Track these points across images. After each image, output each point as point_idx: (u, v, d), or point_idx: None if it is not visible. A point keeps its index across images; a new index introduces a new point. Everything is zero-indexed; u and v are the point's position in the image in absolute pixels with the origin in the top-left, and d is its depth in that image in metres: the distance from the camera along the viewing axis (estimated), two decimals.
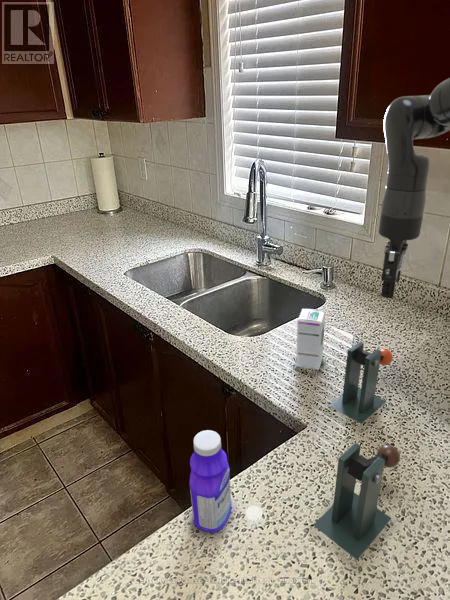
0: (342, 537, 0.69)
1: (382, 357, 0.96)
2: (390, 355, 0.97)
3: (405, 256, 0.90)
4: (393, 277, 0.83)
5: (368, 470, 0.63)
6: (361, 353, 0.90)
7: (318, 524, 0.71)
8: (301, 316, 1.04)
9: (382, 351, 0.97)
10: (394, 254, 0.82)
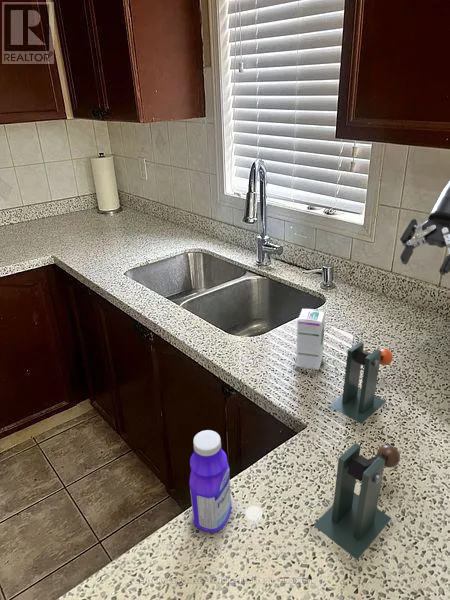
0: (342, 537, 0.69)
1: (382, 357, 0.96)
2: (390, 355, 0.97)
3: (445, 241, 0.95)
4: None
5: (368, 470, 0.63)
6: (361, 353, 0.90)
7: (318, 524, 0.71)
8: (301, 316, 1.04)
9: (382, 351, 0.97)
10: None
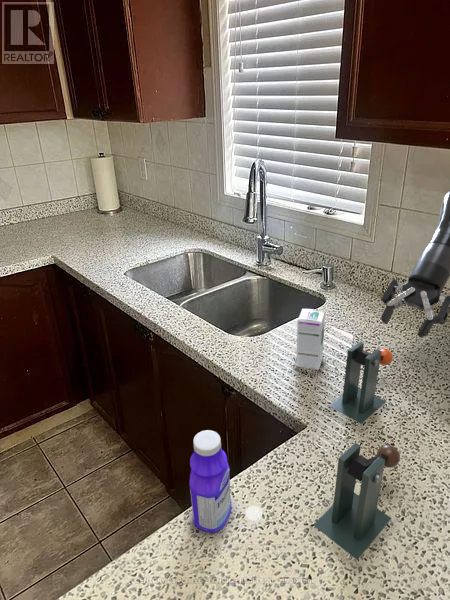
0: (342, 537, 0.69)
1: (382, 357, 0.96)
2: (390, 355, 0.97)
3: (423, 305, 0.97)
4: None
5: (368, 470, 0.63)
6: (361, 353, 0.90)
7: (318, 524, 0.71)
8: (301, 316, 1.04)
9: (382, 351, 0.97)
10: None
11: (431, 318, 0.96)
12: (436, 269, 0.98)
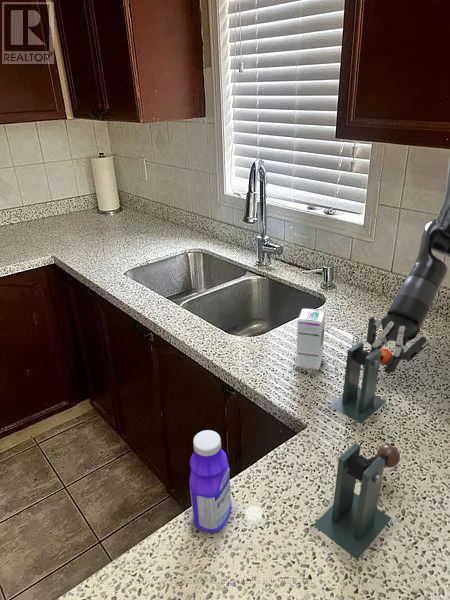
0: (342, 537, 0.69)
1: (382, 357, 0.96)
2: (390, 355, 0.97)
3: (396, 340, 0.96)
4: None
5: (368, 470, 0.63)
6: (361, 353, 0.90)
7: (318, 524, 0.71)
8: (301, 316, 1.04)
9: (382, 351, 0.97)
10: None
11: (397, 355, 0.95)
12: (415, 304, 0.96)
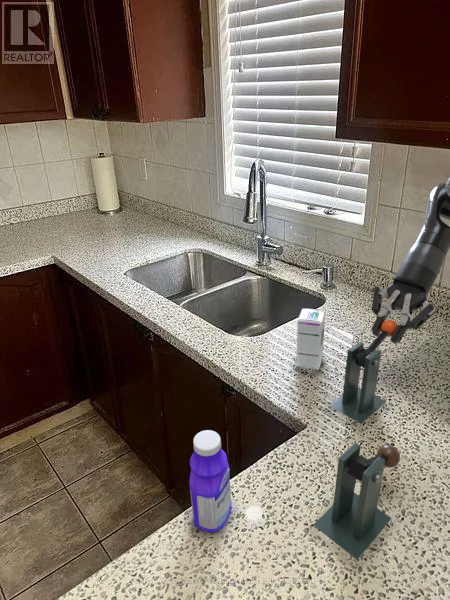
0: (342, 537, 0.69)
1: (386, 334, 0.94)
2: (394, 328, 0.93)
3: (402, 308, 0.93)
4: None
5: (368, 470, 0.63)
6: (359, 358, 0.90)
7: (318, 524, 0.71)
8: (301, 316, 1.04)
9: (385, 327, 0.94)
10: None
11: (403, 324, 0.92)
12: (421, 270, 0.92)
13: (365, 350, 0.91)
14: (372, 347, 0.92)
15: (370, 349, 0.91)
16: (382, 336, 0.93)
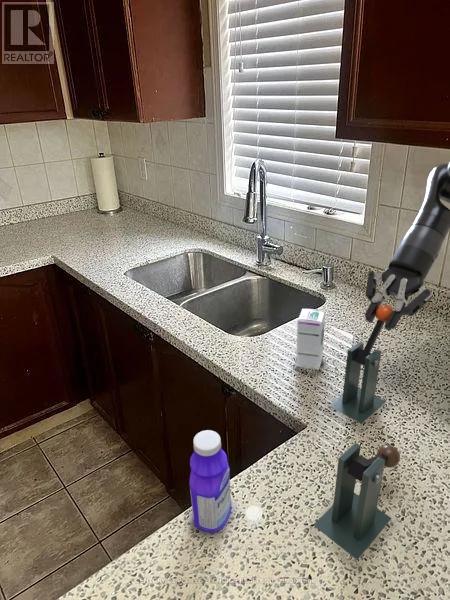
0: (342, 537, 0.69)
1: (382, 324, 0.91)
2: (388, 316, 0.89)
3: (398, 293, 0.89)
4: None
5: (368, 470, 0.63)
6: (358, 362, 0.90)
7: (318, 524, 0.71)
8: (301, 316, 1.04)
9: (379, 316, 0.90)
10: None
11: (398, 309, 0.88)
12: (418, 254, 0.88)
13: (363, 351, 0.90)
14: (370, 344, 0.90)
15: (368, 347, 0.90)
16: (378, 328, 0.90)
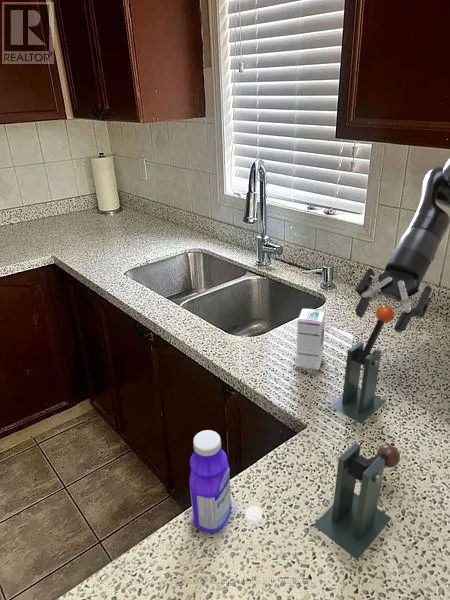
0: (342, 537, 0.69)
1: (382, 324, 0.91)
2: (388, 316, 0.90)
3: (401, 296, 0.88)
4: None
5: (368, 470, 0.63)
6: (358, 362, 0.90)
7: (318, 524, 0.71)
8: (301, 316, 1.04)
9: (379, 317, 0.90)
10: None
11: (409, 310, 0.86)
12: (415, 256, 0.88)
13: (363, 351, 0.90)
14: (370, 344, 0.90)
15: (368, 347, 0.90)
16: (378, 328, 0.90)
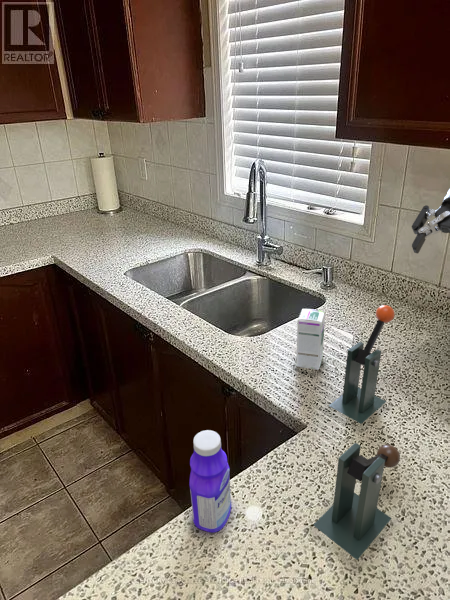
0: (342, 537, 0.69)
1: (382, 324, 0.91)
2: (388, 316, 0.90)
3: None
4: None
5: (368, 470, 0.63)
6: (358, 362, 0.90)
7: (318, 524, 0.71)
8: (301, 316, 1.04)
9: (379, 317, 0.90)
10: None
11: None
12: None
13: (363, 351, 0.90)
14: (370, 344, 0.90)
15: (368, 347, 0.90)
16: (378, 328, 0.90)
